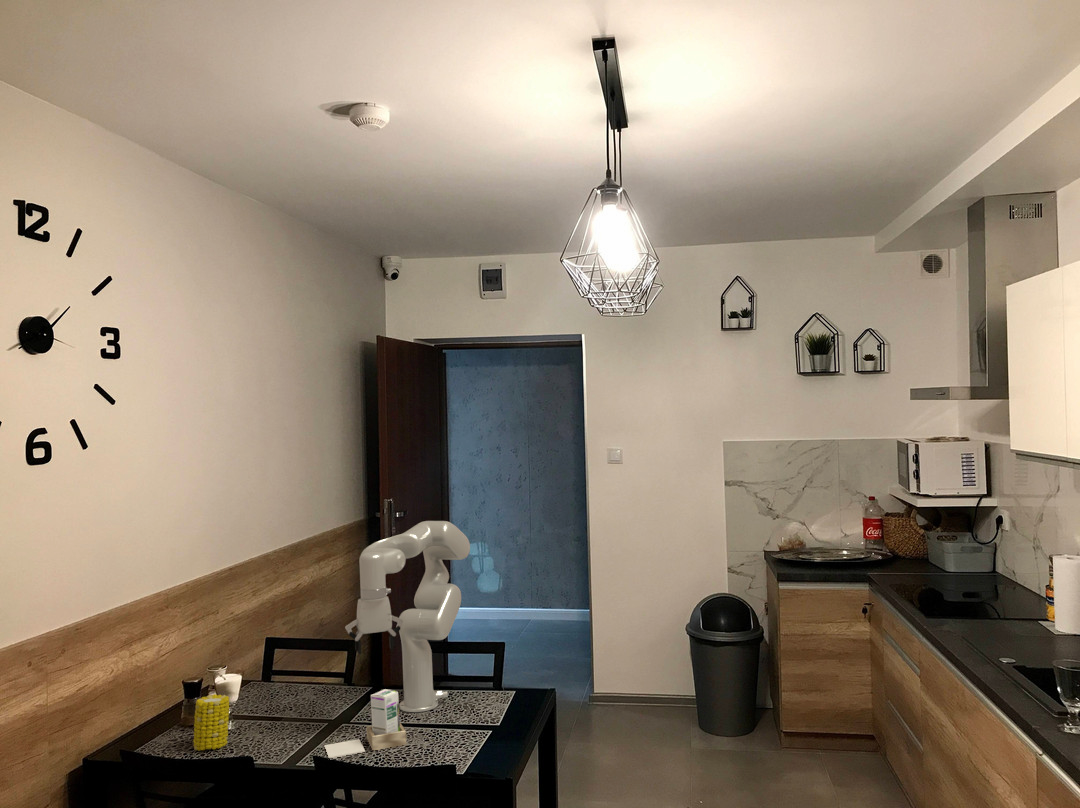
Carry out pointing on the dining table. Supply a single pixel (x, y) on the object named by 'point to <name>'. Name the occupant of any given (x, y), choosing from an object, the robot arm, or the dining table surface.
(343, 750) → the plate
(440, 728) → the dining table surface
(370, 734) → the wooden tray
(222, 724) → the food
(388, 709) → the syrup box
